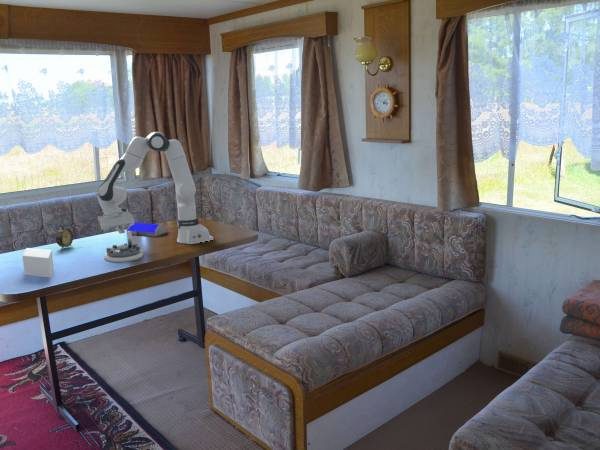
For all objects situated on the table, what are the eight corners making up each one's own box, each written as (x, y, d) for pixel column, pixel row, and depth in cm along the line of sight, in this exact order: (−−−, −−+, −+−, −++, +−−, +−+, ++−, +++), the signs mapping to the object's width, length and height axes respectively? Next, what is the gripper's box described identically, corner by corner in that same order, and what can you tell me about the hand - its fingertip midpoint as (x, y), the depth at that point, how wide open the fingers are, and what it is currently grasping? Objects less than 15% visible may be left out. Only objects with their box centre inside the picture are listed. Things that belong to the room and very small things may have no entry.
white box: (35, 281, 267) (33, 261, 264) (14, 269, 287) (12, 250, 284) (65, 274, 277) (63, 255, 275) (42, 263, 297) (40, 245, 294)
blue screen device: (167, 232, 365) (166, 222, 363) (154, 237, 352) (154, 226, 350) (139, 230, 372) (139, 219, 370) (126, 235, 359) (125, 224, 358)
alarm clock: (63, 250, 321) (60, 224, 317) (55, 250, 322) (52, 223, 318) (74, 246, 331) (71, 220, 328) (66, 245, 332) (63, 219, 329)
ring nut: (138, 247, 318) (137, 229, 315) (141, 255, 301) (140, 235, 299) (106, 250, 311) (104, 232, 309) (107, 258, 295) (105, 239, 293)
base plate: (141, 250, 320) (140, 239, 319) (145, 259, 301) (144, 248, 299) (103, 254, 313) (102, 243, 311) (104, 263, 294) (103, 252, 292)
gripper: (97, 213, 313) (107, 232, 309) (130, 208, 327) (139, 226, 323) (94, 219, 317) (104, 238, 313) (127, 214, 331) (136, 232, 327)
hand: (122, 232), depth 318 cm, fingers closed
